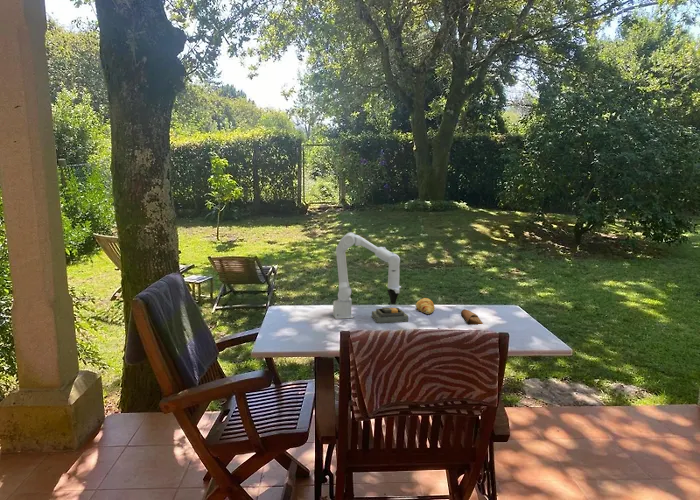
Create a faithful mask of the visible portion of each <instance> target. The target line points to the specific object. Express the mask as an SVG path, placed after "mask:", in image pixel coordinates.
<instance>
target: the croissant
mask: <svg viewBox="0 0 700 500" xmlns="http://www.w3.org/2000/svg"><path fill="white" fill-rule="evenodd" d="M415 308H416V309H417V310H418V311H419V312H421V313H423V314H426V315H430V314H432V313H433V312H435V309H436V307H435V304H434V302H433V301H432V299H430V298H428V297H423V298H419V300H418V301H417V302H416V303H415Z"/></svg>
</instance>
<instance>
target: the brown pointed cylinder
mask: <svg viewBox="0 0 700 500" xmlns="http://www.w3.org/2000/svg"><path fill="white" fill-rule="evenodd" d="M460 315H461V316H462V317H463V319H464V320H465V322H466V323H467V324H468V325H470V326H473V325H474V326H475V325H476V326H477V325H478V324H483V325H484V323H483V322H482V320H481V318H480V317H479V315H478V314H476V313H474V312H472V311H470V310H468V309H465V308H464V309H462V310H461V311H460Z"/></svg>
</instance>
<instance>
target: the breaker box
mask: <svg viewBox="0 0 700 500" xmlns="http://www.w3.org/2000/svg"><path fill="white" fill-rule="evenodd" d="M395 308H396V309H397V310H398V313H384V312H383V311H382V308H376V309H375V310H373V311H371V318H372V319H373V320H374V321H375V322H376V323H377V324H390V323H392V324H393V323H406V322H407V323H408V322H409V315H408V314H407V313H405V311H403V310H402V309H400V308H399V307H395Z"/></svg>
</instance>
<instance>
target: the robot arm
mask: <svg viewBox="0 0 700 500" xmlns="http://www.w3.org/2000/svg"><path fill="white" fill-rule="evenodd" d="M352 246H355V247H356V246H357V247H358V246H362V247H363V248H365V249H368V251H371V252H372V253H374V256H375V257H377V258H378V259H380V260H381V261H383V262H385V263H387V264H388V270H387V271H388V275H387V276H388V278H387V290H386V292H387V294H388V297H389V301H390V305H395V304H396V303H397V299H398V296H399V294H400V291H401V290H400V289H402V286H401V285H400V267H401V266H400V264H401V258H400V256H399V255H398V254H397V253H395V252H394V251H392V252H391V251H390V250H388V249H387V248H386V246H377V245H375V244H373V243H372V242H370V241H368V240H367V239H366V238H364V237H362V236H361V235H358V234H356V233H355V232H351V231H350V232H347V233H345V235H343V237H342V238H340V240H339V242H338V244H337V246H336V248H335V256H336V265H337V275H338V276H337V277H338V292H337V299H336V300H333V302H332V303H333V304H332V306H333V307H332V311H333V312H332V316H333V318H335V320H337V319H339V320H340V319H343V320H344V319H353V318H354V316H353V314H352V309H353V308H352V307H353V305H352V298H351V295H352V293H353V292H352V288H351V287H350V282H349V276H348V275H349V273H348V265H347V256H346V251H347V250H348V249H349V248H350V247H352Z"/></svg>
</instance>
